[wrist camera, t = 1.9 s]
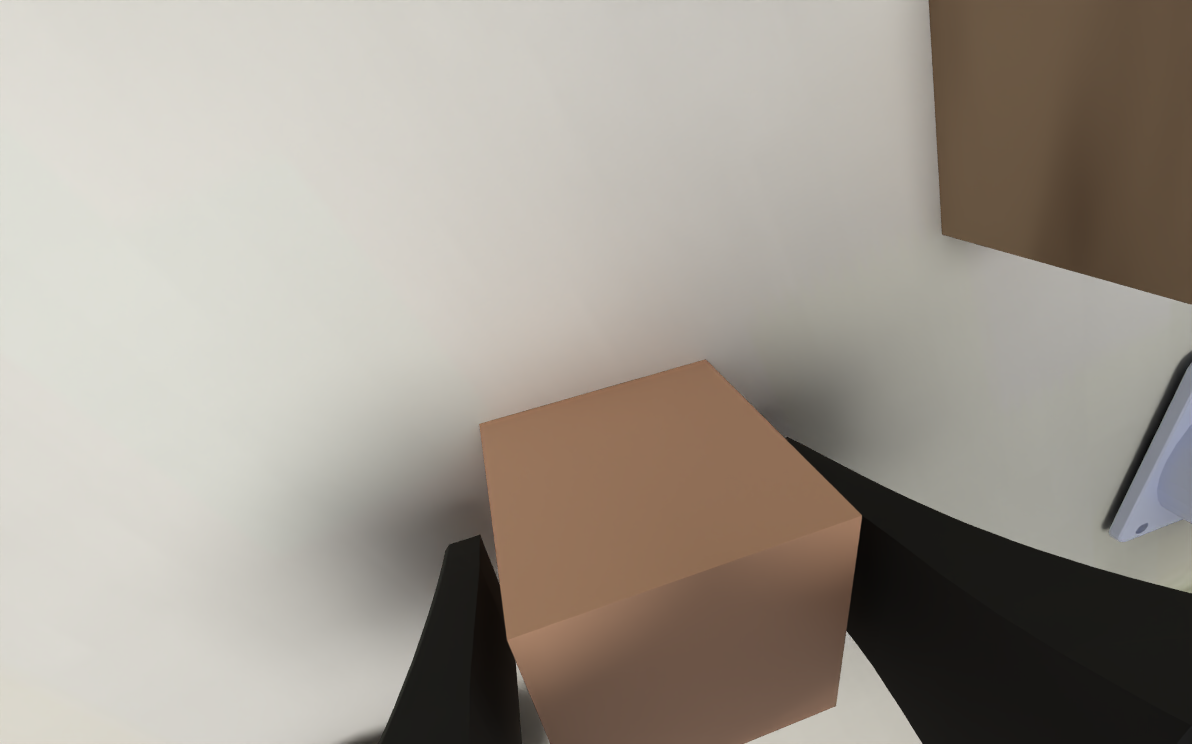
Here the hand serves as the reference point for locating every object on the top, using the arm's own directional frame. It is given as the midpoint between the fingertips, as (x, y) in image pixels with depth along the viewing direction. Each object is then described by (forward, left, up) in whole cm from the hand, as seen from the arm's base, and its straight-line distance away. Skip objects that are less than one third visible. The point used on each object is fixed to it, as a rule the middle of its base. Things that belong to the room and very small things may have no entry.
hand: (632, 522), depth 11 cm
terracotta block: (0, 0, -2) cm, 2 cm away
